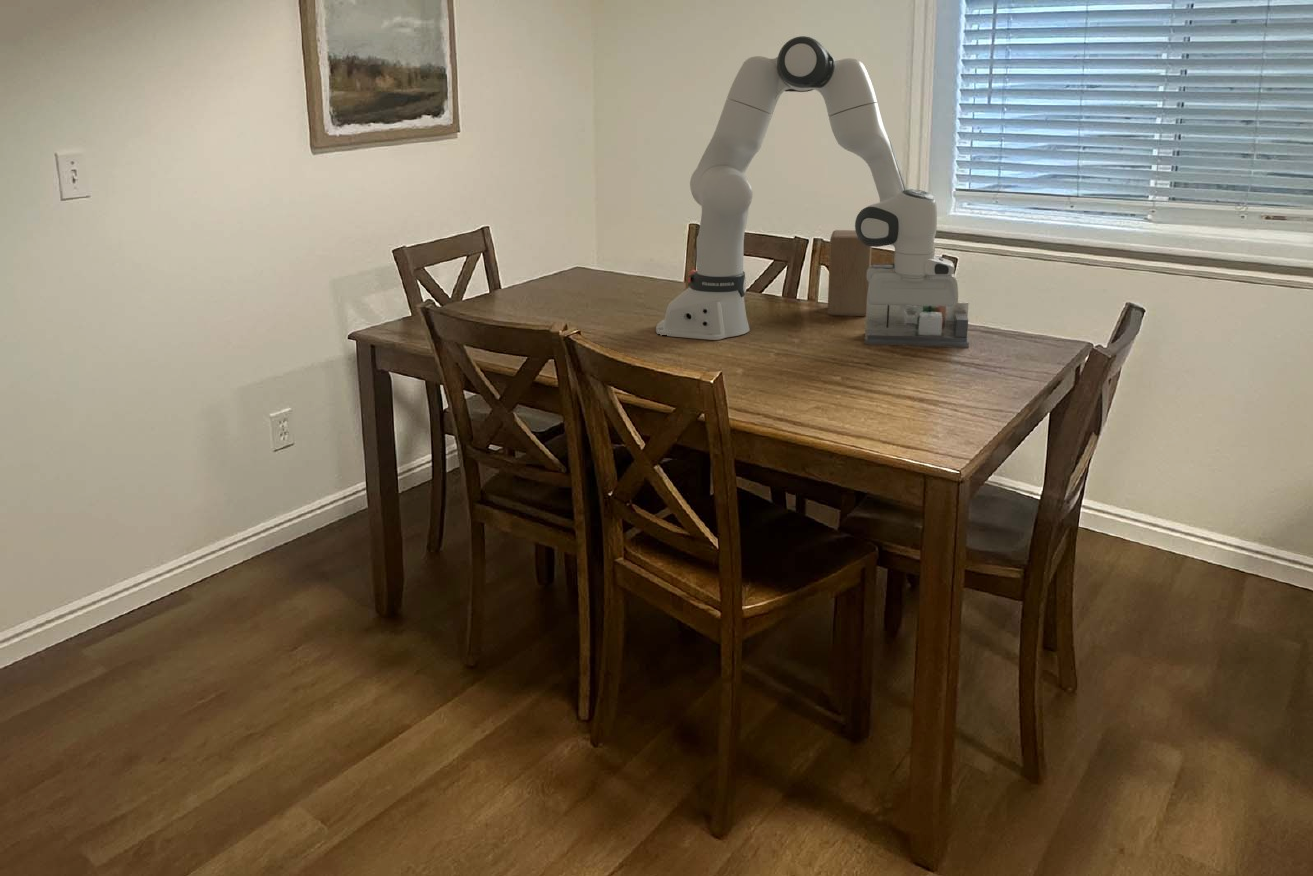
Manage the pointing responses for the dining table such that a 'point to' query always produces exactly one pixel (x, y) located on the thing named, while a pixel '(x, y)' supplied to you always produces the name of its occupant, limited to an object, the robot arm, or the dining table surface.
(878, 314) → the bench
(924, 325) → the gauge carriage
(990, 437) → the dining table surface
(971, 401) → the dining table surface
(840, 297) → the wooden block
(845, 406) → the dining table surface
